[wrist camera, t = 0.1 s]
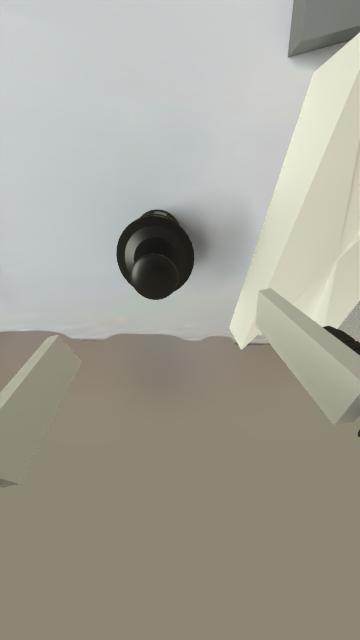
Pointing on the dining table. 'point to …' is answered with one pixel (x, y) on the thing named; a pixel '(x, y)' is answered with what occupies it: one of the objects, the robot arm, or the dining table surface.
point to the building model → (314, 207)
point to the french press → (155, 255)
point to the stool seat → (322, 24)
